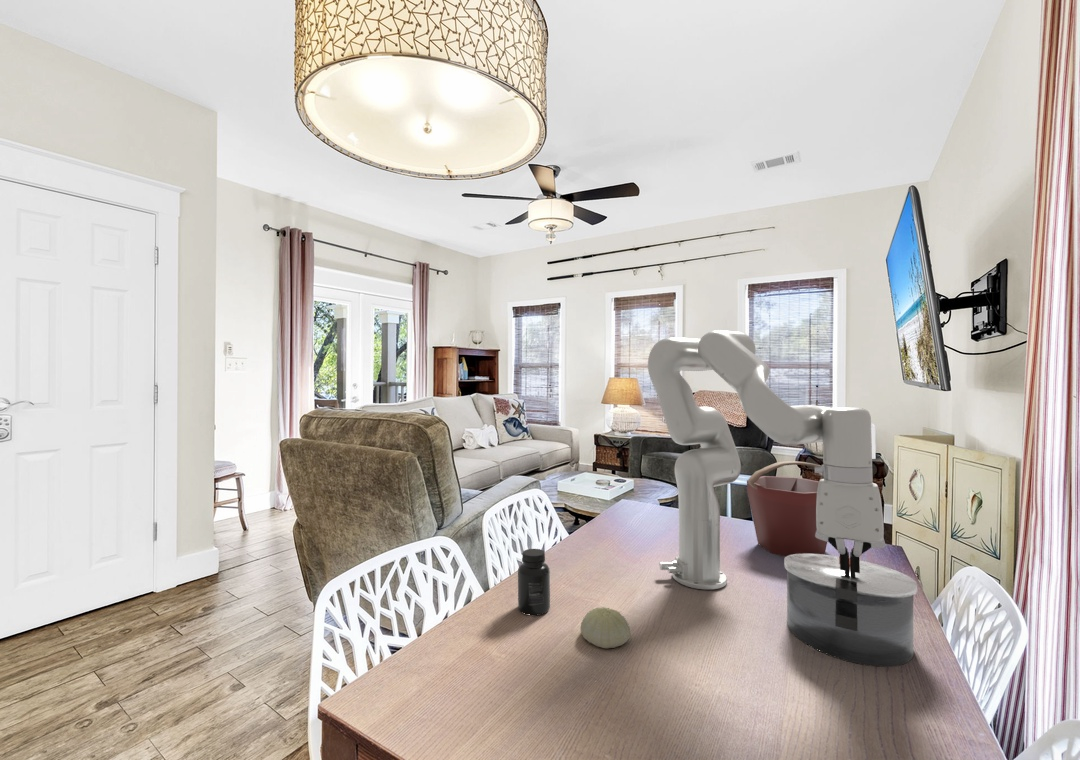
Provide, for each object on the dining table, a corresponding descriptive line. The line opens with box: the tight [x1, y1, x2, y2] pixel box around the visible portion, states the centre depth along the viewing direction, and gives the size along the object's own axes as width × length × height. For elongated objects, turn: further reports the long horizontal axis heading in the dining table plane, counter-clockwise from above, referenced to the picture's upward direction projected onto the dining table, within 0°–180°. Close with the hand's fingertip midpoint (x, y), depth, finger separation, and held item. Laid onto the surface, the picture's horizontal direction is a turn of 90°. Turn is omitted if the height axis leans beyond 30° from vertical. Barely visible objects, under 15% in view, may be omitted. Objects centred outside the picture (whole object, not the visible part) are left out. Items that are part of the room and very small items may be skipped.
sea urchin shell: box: [580, 607, 631, 649], centre depth 88 cm, size 9×8×8 cm
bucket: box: [746, 460, 828, 557], centre depth 134 cm, size 24×22×25 cm
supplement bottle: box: [517, 548, 551, 616], centre depth 99 cm, size 7×7×12 cm
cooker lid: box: [783, 554, 918, 602], centre depth 87 cm, size 26×21×2 cm
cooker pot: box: [786, 570, 914, 668], centre depth 87 cm, size 27×20×10 cm
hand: (850, 575), depth 85 cm, fingers closed
